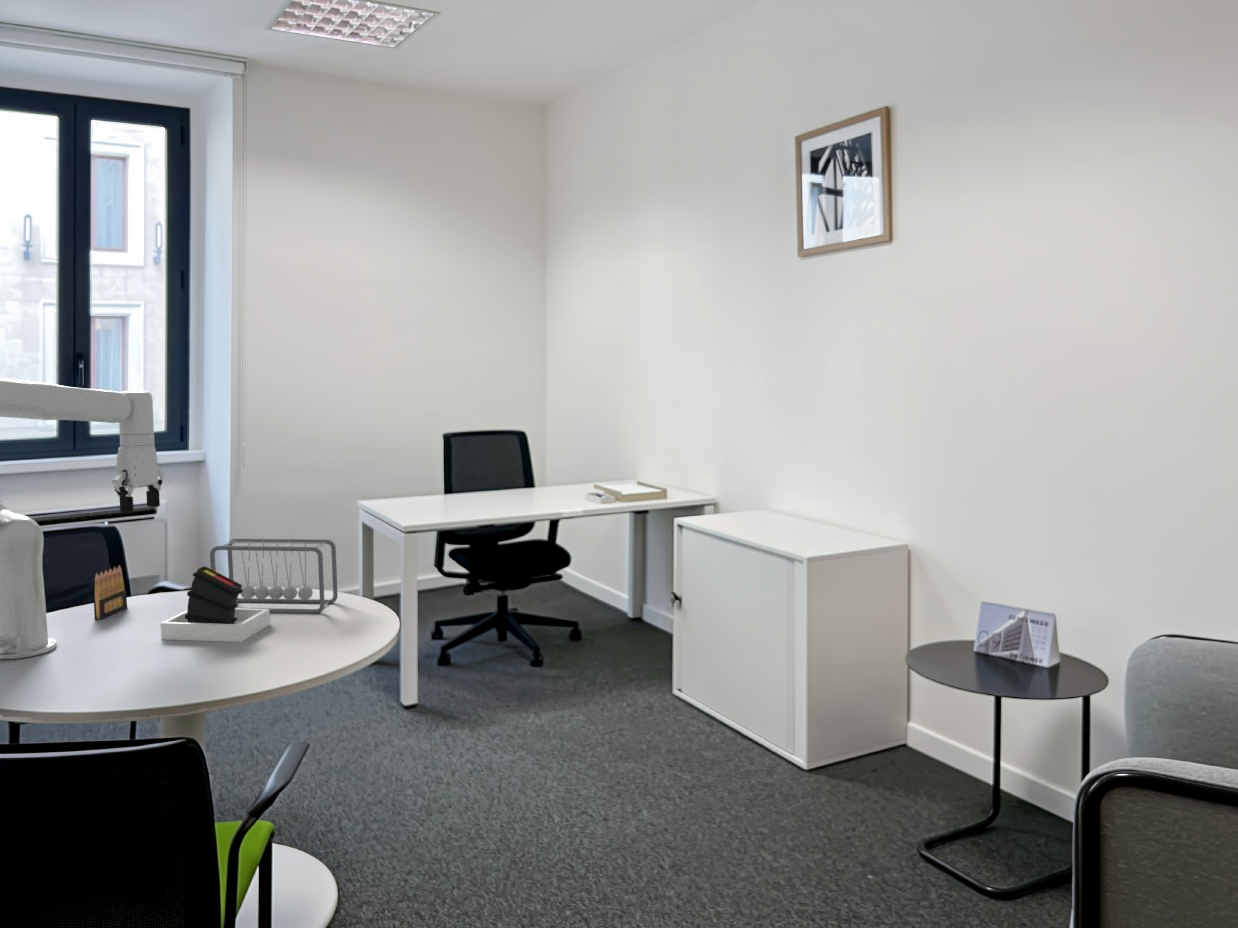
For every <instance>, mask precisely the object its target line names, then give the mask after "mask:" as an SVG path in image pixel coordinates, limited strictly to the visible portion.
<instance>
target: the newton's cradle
mask: <svg viewBox="0 0 1238 928" xmlns="http://www.w3.org/2000/svg"><path fill="white" fill-rule="evenodd" d="M233 544H243V545H233ZM248 544H249V545H248ZM251 544H258V545H251ZM259 544H261V545H259ZM262 544H263V545H262ZM265 544H272V545H267V546H266V545H265ZM279 544H286V545H283V546H281V545H279ZM293 544H295V545H296V544H297V545H298V544H301V545H300V546H293ZM309 544H310V545H311V544H312V545H316V546H307V545H309ZM325 544H326V545H329V546H330V548H331V551H330V552H331V572H332V573H331V575H332V576H331V577H332V595H333V596H332V598H330V599H325V582H324V561H323V559H324V558H323V552H322V550H321V549H320V548H319V547H321V546H323V545H325ZM275 545H276V546H275ZM289 545H290V546H289ZM303 545H304V546H303ZM210 549H211V550H210V552H209V561H210V563H209V564H210V569H211V570H213V571H215V572H217V570H216V555H215V554H216V551H227V565H228V578H229V579H231V580H233V581H235V579H234V561H233V551H241V555H242V557H241V558H244V555H243V551H248V560H250V554H251V551H253V552H255V555H256V557H255V558H256V562H257V569H258V577H259V583H260V585H258V586H257V587H256V588H255V587H254V586H253V585H252V584H250V583H249V582H250V581H249V579H250V568H248V569H247V570H248V574H247V573H246V567H245V560H244V559H242V561H243V562H242V563H243V569H244V576H245V577H244V578H247V579H245V582H246V583H245V584H246V585H243V586H242V588H241V589H242V590H243V592H242V593H240V596H241V597H238V598H237V601H236V603H259V604H260V603H261V604H262V603H263V604H317V605H319V607H318V608H316V609H315V608H269V607H268V608H264V607H263V608H261V607H258V608H257V607H256V608H255V607H248V608H249V609H269V612H270V614H272V613H273V614H320V613H322V612H323V610H324V608H325V606H326V605H330V604H334V603H335V602H336V601H337V600H338V593H339V592H338V574H337V573H338V572H337V567H338V566H337V549H336V543H334V542H333V541H332V540H330V539H318V538H317V539H307V538H305V539H303V538H294V539H293V538H231V539H230V540H229V541H228V542H227V543H225V544H222V545H216V546H213V547H212V548H210ZM257 551H259V552H261V551H262V557H264V554H265V553H264V552H265V551H266V552H267V551H268V552H269V556H270V557H272V554H271V552H272V551H273V552H274V551H275V552H276V555H278V551H279V552H283V553H284V556H286V552H290V553H292V552H298V553H300V552H304V575H303V568H302V563H301V555H300V554H298V558H299V563H300V564H299V565H300V571H301V576H302V582H303V585H302V586H301V587H299V589H298V590H297V588H296V587H295V586H293V585H291V584H290V583H291V579H292V577H291V576H292V575H291V574H292V573H291V571H292V563H290V570H289V572H286V576H287V577H286V578H289V579H287V583H288V584H287V586H285V587H284V588H283V587H281V586H280V585H278V584H276V583H277V578H278V577H277V576H278V574H277V573H278V563H275V564H276V566H275V567H276V568H275V569H276V570H275V573H274V572H272V575H273V584H274V585H272V586H271V587H268V586H266V585H264V584H263V583H264V582H263V581H264V580H263V578H264V565H262V566H261V567H262V571H261V574H260V567H259V561H258V559H259V558H258V554H257ZM307 552H314V553H316V555H317V562H318V585H319V586H318V588H319V589H318V590H319V592H318V593H319V599H316V598H315V599H314V598H311V597H313V593H314V592H313V589H312V587H310V586H308V585H306V584H307V583H306V581H307V580H306V578H307V577H306V575H307V574H306V568H307V567H306V564H307V560H306V559H307V558H306V557H307V556H306V555H307ZM284 560H285V563H287V559H286V557H284ZM270 562H271V564H273V559H272V558H270ZM271 567H272V568H271V569H272V571H274V567H273V565H271ZM285 569H286V571H288V567H287V564H285ZM288 573H289V574H288ZM246 574H247V576H246ZM261 575H262V576H261ZM274 575H275V576H274ZM254 596H255V597H254ZM268 596H269V598H268ZM297 596H298V597H299V598H296V597H297ZM282 597H283V598H282Z"/></svg>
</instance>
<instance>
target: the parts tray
mask: <svg viewBox="0 0 1238 928" xmlns="http://www.w3.org/2000/svg"><path fill="white" fill-rule="evenodd" d="M249 608H250V607H236V608H235V618H237V621H235V624H213V623H188V619H185V615H186V614H187V613H188V609H187V610H184V611H182V612H180V613H178V614H176V615H174V616H172V617H170V618H168V619H166V620H164V621H161V622H160V636H161V637H160V638H161V640H168V641H170V640H171V641H172V640H174V641H193V642H195V641H199V642H201V641H202V642H203V641H204V642H220V643H221V642H226V643H242V642H244V641H246V640H247V639H249V638H250V637H253V636H254V635H255V634H257V633H258V632H260V631H262V630H263V629H265V628H267V627H269V626H271V620H270V619H271V615H270V614H271V613H270V612H269V609H249Z"/></svg>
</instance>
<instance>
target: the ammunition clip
mask: <svg viewBox="0 0 1238 928" xmlns="http://www.w3.org/2000/svg"><path fill="white" fill-rule="evenodd" d="M123 577H124V575H123V571H122V567H121V565H120V564H119V565H117V568H116V566H114V567H113V569H112V568H109V569H108V570H107V569H105V571H104V573H103V571H100V573H98V572H96V573H95V577H94V600H93V611H94V620H97V621H98V620H99V621H101V620H104V619H107V618H108V617H111V616H113V615H116V614H119V613H121V612H122V611H125V610H127V609H128V600H127V590H126V589H125V581H124V578H123Z"/></svg>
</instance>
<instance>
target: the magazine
mask: <svg viewBox="0 0 1238 928" xmlns="http://www.w3.org/2000/svg"><path fill="white" fill-rule="evenodd" d="M192 576H193V577H194V578H193V580H192V582H191V587H190V590H188V591H187V593H186V596H187V597H188V600H187V610H188V613H187V614H186V615H185V619H188V623H213V624H235V621H237V618H235V608H239V604H238V603H237V602H236V601H237V598H239V595H241V593H242V592H243V590H242V587H243V584H241V583H239V582H237V581H235V580H234V581H233V580H231V579H229V577H227V576H225V575H223V574H221V573H219V572H217V571H216V572H215V571H213V570H211V567H207V566H205V565H204V566H200V567H198V568H197V570H196V571H195V572H193V574H192Z"/></svg>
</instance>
